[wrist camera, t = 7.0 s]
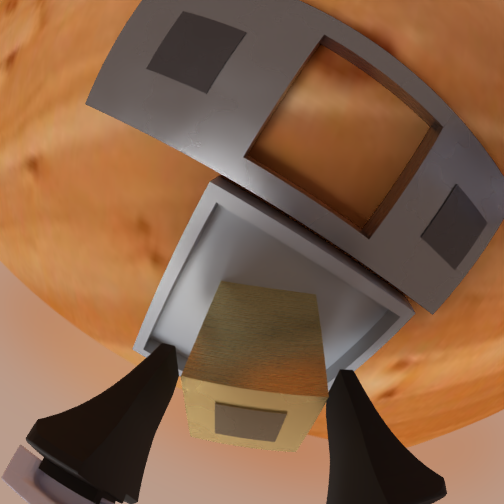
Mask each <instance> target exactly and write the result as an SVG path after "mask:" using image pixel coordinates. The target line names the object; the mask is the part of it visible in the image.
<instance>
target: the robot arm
mask: <svg viewBox="0 0 504 504" xmlns="http://www.w3.org/2000/svg"><path fill="white" fill-rule="evenodd" d="M178 377H179V371H178V363H177V356H176V348H175V346H173V345H169V344H165V343H162V344H160V345H159V346H158V347H157V348H156V349H155V350H154V351H153V352H152V353H151V354H150V355H149V356H148V357H147V358H146V359H144V360H143V361H142V362H141V363H140V364H139V365H138V366H137V367H135V368H134V369H133V370H132V371H131V372H130V373H129V374H127V375H126V376H125V377H124V378H122V379H121V380H120V381H118V382H117V383H116V384H114V385H113V386H111V387H110V388H109V389H107V390H106V391H104V392H102V393H101V394H99V395H98V396H96V397H94V398H92V399H90V400H89V401H87V402H85V403H83V404H81V405H79V406H77V407H74V408H72V409H69V410H67V411H65V412H62V413H59V414H56V415H53V416H49V417H46V418H42V419H38V420H37V422H36V423H35V424H34V426H33V428H32V429H31V431H30V432H29V434H28V436H27V437H26V441H27V442H28V443H29V444H30V445H31V446H32V447H33V448H34V449H35V450H37V452H39V453H40V454H41V455H42V456H43V457H44V459H43V460H42V461H41V460H40V459H39V458H38V457H36V456H35V455H34V454H32V453H31V452H29V451H28V450H27V449H26V448H24V447H23V446H22V445H20V446H19V448H18V449H17V451H16V453H15V454H14V456H13V458H12V459H11V461H10V463H9V465H8V466H7V468H6V470H5V472H4V474H3V476H2V480H3V481H4V482H5V483H6V484H7V485H8V486H10V487H11V488H12V489H13V490H14V491H15V492H16V493H17V494H19V495H20V496H21V497H22V498H23V499H24V500H25V501H26V502H27V503H29V504H115V501H117V502H119V503H123V501H124V502H127V503H129V504H134V503H136V502H138V497H139V491H140V487H141V482H142V477H143V473H144V469H145V465H146V462H147V458H148V454H149V451H150V448H151V445H152V441H153V438H154V435H155V433H156V430H157V428H158V426H159V424H160V422H161V419H162V417H163V415H164V413H165V411H166V408H167V406H168V404H169V402H170V400H171V398H172V395H173V393H174V390H175V387H176V383H177V380H178ZM328 395H329V397H328V399H327V401H326V419H327V430H328V440H329V451H330V474H329V487H328V496H327V503H326V504H432V503H434V502H435V501H438V500H440V499H441V498H443V497H444V496H446V494H447V491H446V486H445V481H444V478H443V477H441V476H440V475H438V474H436V473H435V472H434V471H432V470H431V469H429V468H428V467H426V466H425V465H424V464H423V463H422V462H421V461H419V460H418V459H417V458H416V457H415V456H414V455H413V454H412V453H410V451H409V450H407V449H406V448H405V447H404V446H403V444H402V443H401V442H400V441H399V440H398V439H397V438H396V436H395V435H394V434H393V433H392V432H391V430H390V429H389V428H388V426H387V425H386V424H385V422H384V421H383V419H382V418H381V417H380V415H379V413H378V412H377V410H376V409H375V407H374V406H373V404H372V402H371V401H370V399H369V397H368V396H367V394H366V392H365V391H364V389H363V387H362V385H361V383H360V382H359V380H358V378H357V376H356V374H355V373H354V371H353V370H347V369H340V370H339V372H338V374H337V376H336V378H335V380H334V382H333V384H332V386H331V388H330V390H329V392H328Z"/></svg>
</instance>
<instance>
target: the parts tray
mask: <svg viewBox="0 0 504 504" xmlns="http://www.w3.org/2000/svg"><path fill="white" fill-rule="evenodd" d="M221 281H226V282H232V283H239V284H245V285H252V286H258V287H265V288H272V289H279V290H287V291H294V292H301V293H309V294H316V297H317V304H318V311H319V318H320V325H321V332H322V340H323V348H324V356H325V365H326V375H327V384H328V391H329V390H330V388H331V386H332V384H333V382H334V380H335V378H336V376H337V374H338V372H339V370H340V369H347V370H353V371H355V370H356V369H357V368H359V367H360V366H361V365H362V364H363V363H364V362H366V361H367V360H368V359H369V358H370V357H371V356H372V355H373V354H375V353H376V352H377V351H378V350H379V349H380V348H381V347H382V346H383V345H384V344H385V343H386V342H387V341H389V340H390V339H391V338H392V337H393V336H394V335H395V334H396V333H397V332H398V331H399V330H400V329H401V328H402V327H403V326H404V325H405V324H406V323H407V322H408V321H409V320H410V318H411V317H412V316H413V315H414V314H415V312H414V310H413V308H412V306H411V305H410V303H409V301H408V300H407V298H406V297H405V296H404V295H403V294H401V293H400V292H398V291H397V290H396V289H394V288H393V287H391V286H390V285H389V284H387V283H386V282H384V281H383V280H382V279H380V278H379V277H377V276H376V275H375V274H373V273H372V272H370V271H369V270H367V269H366V268H364V267H363V266H362V265H360V264H359V263H357V262H356V261H354V260H353V259H351V258H350V257H348V256H347V255H345V254H344V253H342V252H341V251H339V250H338V249H336V248H335V247H333V246H332V245H330V244H329V243H327V242H326V241H324V240H323V239H321V238H320V237H318V236H317V235H315V234H314V233H312V232H311V231H309V230H307V229H306V228H304V227H303V226H301V225H300V224H298V223H296V222H295V221H293V220H292V219H290V218H288V217H287V216H285V215H284V214H282V213H280V212H279V211H277V210H276V209H274V208H272V207H271V206H269V205H267V204H266V203H264V202H262V201H261V200H259V199H258V198H256V197H254V196H253V195H251V194H249V193H247V192H246V191H244V190H242V189H241V188H239V187H237V186H236V185H234V184H232V183H230V182H229V181H227V180H225V179H224V178H222V177H220V176H218V177H217V178H215V179H213V180H212V181H210V182H209V184H208V186H207V188H206V190H205V192H204V194H203V195H202V197H201V199H200V201H199V203H198V205H197V207H196V209H195V211H194V213H193V215H192V217H191V219H190V221H189V223H188V225H187V227H186V229H185V231H184V233H183V235H182V237H181V239H180V241H179V243H178V245H177V247H176V249H175V251H174V253H173V256H172V258H171V260H170V262H169V264H168V266H167V268H166V271H165V273H164V275H163V277H162V279H161V282H160V284H159V286H158V288H157V291H156V293H155V295H154V298H153V300H152V302H151V305H150V307H149V309H148V312H147V314H146V317H145V319H144V322H143V324H142V326H141V329H140V331H139V334H138V336H137V339H136V342H135V344H134V347H133V350H134V351H136V352H138V353H139V354H141V355H143V356H144V357H146V358H147V357H148V356H149V355H150V354H151V353H152V352H153V351H154V350H155V349H156V348H157V347H158V346H159V345H160V344H162V343H165V344H169V345H173V346H175V348H176V356H177V363H178V371H179V376H181V374H182V372H183V370H184V367H185V365H186V362H187V360H188V357H189V355H190V353H191V350H192V348H193V345H194V343H195V341H196V338H197V336H198V333H199V331H200V329H201V326H202V324H203V322H204V319H205V317H206V314H207V312H208V310H209V307H210V305H211V303H212V300H213V298H214V296H215V293H216V291H217V289H218V286H219V284H220V282H221Z"/></svg>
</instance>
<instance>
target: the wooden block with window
mask: <svg viewBox="0 0 504 504" xmlns="http://www.w3.org/2000/svg"><path fill="white" fill-rule="evenodd" d="M181 381H182V388H183V394H184V401H185V408H186V414H187V420H188V425H189V431H190V436H191V437H195V438H199V439H204V440H208V441H213V442H218V443H223V444H229V445H235V446H241V447H249V448H256V449H265V450H276V451H288V452H296V451H297V449H298V448H299V446H300V445H301V443H302V441H303V440H304V438H305V437H306V435H307V434H308V432H309V430H310V429H311V427H312V426H313V424H314V422H315V420H316V419H317V417H318V415H319V414H320V412H321V410H322V408H323V407H324V405H325V403H326V401H327V399H328V397H329V395H328V384H327V375H326V365H325V356H324V348H323V340H322V332H321V325H320V318H319V311H318V304H317V297H316V294H309V293H301V292H294V291H287V290H279V289H272V288H265V287H258V286H252V285H245V284H239V283H232V282H226V281H221V282H220V284H219V286H218V289H217V291H216V293H215V296H214V298H213V300H212V303H211V305H210V307H209V310H208V312H207V314H206V317H205V319H204V322H203V324H202V326H201V329H200V331H199V333H198V336H197V338H196V341H195V343H194V345H193V348H192V350H191V353H190V355H189V357H188V360H187V362H186V365H185V367H184V370H183V372H182V374H181Z"/></svg>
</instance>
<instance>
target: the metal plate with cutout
mask: <svg viewBox="0 0 504 504" xmlns="http://www.w3.org/2000/svg"><path fill="white" fill-rule="evenodd" d="M320 44H322V45H323V46H325V47H327V48H328V49H330V50H332V51H334V52H335V53H337V54H338V55H340V56H342V57H343V58H345V59H346V60H348V61H349V62H351V63H353V64H354V65H356V66H357V67H358V68H360V69H361V70H363V71H364V72H366V73H367V74H368V75H370V76H371V77H373V78H374V79H375V80H377V81H378V82H379V83H381V84H382V85H383V86H385V87H386V88H387V89H388V90H390V91H391V92H392V93H393V94H395V95H396V96H397V97H398V98H399V99H401V100H402V101H403V102H404V103H405V104H406V105H408V106H409V107H410V108H411V109H412V110H413V111H414V112H415V113H417V114H418V115H419V116H420V117H421V118H422V119H423V120H424V121H425V122H426V123H427V124H428V125H429V126H430V129H429V131H428V132H427V134H426V136H425V137H424V139H423V141H422V142H421V144H420V145H419V147H418V149H417V150H416V152H415V153H414V155H413V157H412V158H411V160H410V161H409V163H408V164H407V166H406V167H405V169H404V170H403V172H402V174H401V175H400V177H399V178H398V180H397V181H396V182H395V184H394V185H393V187H392V188H391V190H390V191H389V193H388V194H387V196H386V197H385V199H384V200H383V201H382V203H381V204H380V206H379V207H378V208H377V210H376V211H375V213H374V214H373V215H372V217H371V218H370V219H369V221H368V222H367V224H366V225H365V226H364V228H363V229H360V228H359V227H358V226H356V225H355V224H353V223H352V222H351V221H349V220H348V219H346V218H345V217H344V216H342V215H341V214H339V213H338V212H336V211H335V210H333V209H332V208H331V207H329V206H328V205H326V204H325V203H323V202H322V201H320V200H319V199H317V198H316V197H314V196H313V195H311V194H310V193H308V192H307V191H305V190H304V189H302V188H301V187H299V186H297V185H296V184H294V183H293V182H291V181H290V180H288V179H286V178H285V177H283V176H282V175H280V174H278V173H277V172H275V171H273V170H272V169H270V168H268V167H267V166H265V165H263V164H262V163H260V162H258V161H257V160H255V159H253V158H252V157H250V156H248V153H249V152H250V150H251V148H252V147H253V145H254V143H255V142H256V140H257V138H258V137H259V135H260V134H261V132H262V130H263V129H264V127H265V126H266V124H267V122H268V121H269V119H270V118H271V116H272V115H273V113H274V111H275V110H276V108H277V107H278V105H279V104H280V102H281V101H282V99H283V98H284V96H285V95H286V93H287V92H288V90H289V89H290V87H291V86H292V84H293V83H294V81H295V80H296V78H297V77H298V75H299V74H300V72H301V71H302V69H303V68H304V66H305V65H306V64H307V62H308V61H309V59H310V58H311V56H312V55H313V54H314V52H315V51H316V49H317V48H318V47H319V45H320ZM85 104H86V105H88V106H90V107H92V108H95V109H97V110H99V111H101V112H103V113H105V114H107V115H110V116H112V117H114V118H116V119H118V120H120V121H122V122H124V123H126V124H128V125H130V126H132V127H134V128H136V129H138V130H140V131H142V132H144V133H146V134H148V135H150V136H152V137H154V138H156V139H158V140H160V141H162V142H163V143H165V144H167V145H169V146H171V147H173V148H175V149H177V150H179V151H180V152H182V153H184V154H186V155H188V156H190V157H191V158H193V159H195V160H197V161H199V162H200V163H202V164H204V165H206V166H208V167H209V168H211V169H213V170H215V171H217V172H218V173H220V174H222V175H224V176H225V177H227V178H229V179H230V180H232V181H234V182H236V183H237V184H239V185H241V186H242V187H244V188H246V189H248V190H249V191H251V192H253V193H254V194H256V195H258V196H259V197H261V198H263V199H264V200H266V201H267V202H269V203H271V204H272V205H274V206H276V207H277V208H279V209H280V210H282V211H284V212H285V213H287V214H289V215H290V216H292V217H293V218H295V219H296V220H298V221H300V222H301V223H303V224H304V225H306V226H307V227H309V228H311V229H312V230H314V231H315V232H317V233H318V234H320V235H321V236H323V237H324V238H326V239H327V240H329V241H330V242H332V243H333V244H335V245H336V246H338V247H339V248H341V249H342V250H344V251H345V252H347V253H348V254H350V255H351V256H353V257H354V258H356V259H357V260H358V261H360V262H361V263H363V264H364V265H366V266H367V267H369V268H370V269H371V270H373V271H374V272H376V273H377V274H378V275H380V276H381V277H383V278H384V279H385V280H387V281H388V282H390V283H391V284H392V285H394V286H395V287H397V288H398V289H399V290H401V291H402V292H403V293H405V294H406V295H407V296H409V297H410V298H411V299H413V300H414V301H415V302H417V303H418V304H419V305H421V306H422V307H423V308H425V309H426V310H427V311H429V312H430V313H431V314H432V315H433V314H434V313H435V312H436V310H437V309H438V308H439V307H440V306H441V305H442V304H443V303H444V301H445V300H446V299H447V298H448V297H449V296H450V294H451V293H452V292H453V291H454V290H455V288H456V287H457V286H458V285H459V283H460V282H461V281H462V280H463V278H464V277H465V276H466V274H467V273H468V272H469V270H470V269H471V268H472V266H473V265H474V264H475V262H476V261H477V259H478V258H479V257H480V255H481V254H482V252H483V251H484V249H485V248H486V246H487V245H488V243H489V242H490V240H491V239H492V237H493V236H494V234H495V232H496V231H497V229H498V227H499V226H500V224H501V222H502V221H503V219H504V176H503V175H502V173H501V172H500V170H499V169H498V167H497V166H496V164H495V163H494V161H493V160H492V159H491V157H490V156H489V154H488V153H487V152H486V150H485V149H484V148H483V146H482V145H481V144H480V142H479V141H478V140H477V138H476V137H475V136H474V135H473V133H472V132H471V131H470V130H469V129H468V127H467V126H466V125H465V124H464V123H463V122H462V120H461V119H460V118H459V117H458V116H457V115H456V114H455V113H454V111H453V110H452V109H451V108H450V107H449V106H448V105H447V104H446V103H445V102H444V101H443V100H442V99H441V98H440V97H439V96H438V95H437V94H436V93H435V92H434V91H433V90H432V89H431V88H430V87H429V86H428V85H427V84H425V83H424V82H423V81H422V80H421V79H420V78H419V77H418V76H416V75H415V74H414V73H413V72H412V71H411V70H409V69H408V68H407V67H406V66H405V65H403V64H402V63H401V62H400V61H398V60H397V59H396V58H395V57H393V56H392V55H391V54H389V53H388V52H387V51H385V50H384V49H383V48H381V47H380V46H378V45H377V44H375V43H374V42H373V41H371V40H370V39H368V38H367V37H365V36H364V35H362V34H360V33H359V32H357V31H356V30H354V29H352V28H351V27H349V26H348V25H346V24H344V23H342V22H341V21H339V20H337V19H335V18H334V17H332V16H330V15H328V14H326V13H324V12H322V11H320V10H318V9H316V8H314V7H312V6H310V5H308V4H306V3H304V2H302V1H299V0H142V1H141V3H140V4H139V5H138V7H137V8H136V10H135V11H134V13H133V14H132V16H131V17H130V19H129V20H128V22H127V23H126V25H125V26H124V28H123V30H122V31H121V33H120V35H119V36H118V38H117V40H116V41H115V43H114V45H113V47H112V49H111V50H110V52H109V54H108V56H107V58H106V60H105V62H104V64H103V66H102V68H101V70H100V72H99V74H98V76H97V78H96V80H95V82H94V85H93V87H92V89H91V91H90V94H89V96H88V98H87V101H86V103H85Z"/></svg>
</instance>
